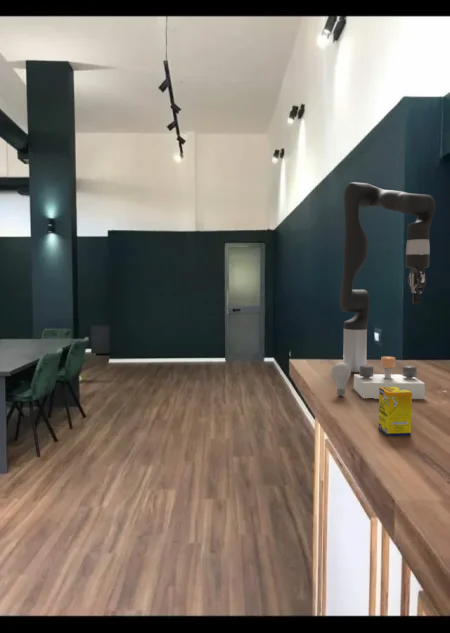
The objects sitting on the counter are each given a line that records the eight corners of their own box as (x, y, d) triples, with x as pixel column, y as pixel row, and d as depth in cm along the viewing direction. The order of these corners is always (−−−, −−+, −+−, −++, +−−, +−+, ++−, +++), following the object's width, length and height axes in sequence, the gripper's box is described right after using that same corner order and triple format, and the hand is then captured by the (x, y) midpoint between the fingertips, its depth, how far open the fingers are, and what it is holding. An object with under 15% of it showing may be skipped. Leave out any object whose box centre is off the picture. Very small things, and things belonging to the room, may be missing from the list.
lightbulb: (351, 394, 160) (351, 361, 159) (349, 399, 154) (350, 364, 153) (332, 393, 162) (332, 360, 161) (330, 397, 156) (330, 363, 155)
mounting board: (353, 388, 169) (353, 374, 168) (409, 388, 168) (409, 374, 168) (363, 398, 155) (363, 383, 154) (424, 399, 154) (424, 383, 154)
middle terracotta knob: (379, 381, 163) (379, 356, 163) (392, 381, 163) (393, 356, 163) (382, 384, 159) (383, 358, 158) (396, 384, 159) (397, 358, 158)
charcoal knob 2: (400, 390, 163) (400, 365, 163) (413, 390, 163) (414, 365, 163) (404, 393, 159) (404, 368, 158) (418, 393, 159) (418, 368, 158)
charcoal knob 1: (357, 390, 164) (358, 365, 163) (371, 390, 164) (371, 365, 163) (360, 393, 160) (361, 367, 159) (374, 393, 159) (375, 367, 159)
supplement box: (377, 429, 124) (378, 386, 123) (400, 428, 124) (401, 386, 123) (387, 437, 118) (388, 392, 117) (411, 436, 118) (412, 391, 117)
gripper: (400, 254, 174) (399, 303, 175) (413, 252, 161) (411, 305, 162) (421, 254, 174) (420, 303, 175) (436, 252, 160) (434, 305, 162)
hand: (416, 304), depth 169 cm, fingers closed
